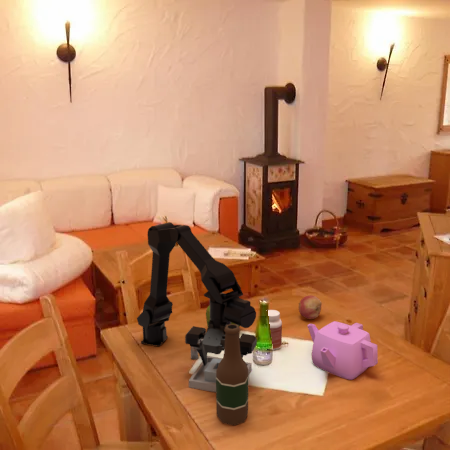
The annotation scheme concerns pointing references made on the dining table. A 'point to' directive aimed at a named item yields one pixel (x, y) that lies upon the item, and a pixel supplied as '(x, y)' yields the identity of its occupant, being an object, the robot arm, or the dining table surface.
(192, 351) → the brown rounded cylinder
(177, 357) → the dining table surface
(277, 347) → the pill bottle
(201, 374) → the tray
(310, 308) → the fruit
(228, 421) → the beer bottle
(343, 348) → the teakettle
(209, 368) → the ring
